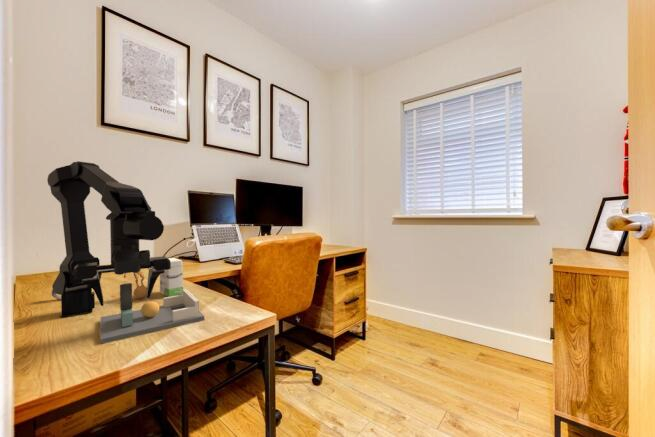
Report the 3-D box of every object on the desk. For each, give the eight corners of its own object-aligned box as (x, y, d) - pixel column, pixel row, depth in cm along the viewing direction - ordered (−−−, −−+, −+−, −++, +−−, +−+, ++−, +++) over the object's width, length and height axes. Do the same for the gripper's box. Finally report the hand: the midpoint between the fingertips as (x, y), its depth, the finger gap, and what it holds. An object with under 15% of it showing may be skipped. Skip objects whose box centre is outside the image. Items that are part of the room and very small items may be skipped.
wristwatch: (49, 301, 88) (49, 285, 88) (56, 298, 90) (55, 283, 90) (72, 300, 89) (72, 284, 89) (78, 297, 92) (78, 282, 91)
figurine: (128, 302, 86) (128, 264, 86) (121, 299, 90) (120, 261, 90) (157, 296, 93) (157, 260, 93) (149, 292, 97) (149, 258, 96)
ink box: (183, 294, 95) (183, 259, 95) (168, 297, 92) (167, 261, 91) (174, 289, 101) (173, 257, 101) (159, 292, 97) (158, 258, 97)
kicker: (121, 327, 65) (120, 288, 65) (119, 317, 71) (119, 282, 71) (134, 324, 67) (133, 287, 66) (131, 314, 73) (130, 280, 73)
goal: (173, 321, 69) (173, 305, 69) (163, 306, 80) (163, 292, 80) (199, 315, 73) (198, 300, 73) (186, 302, 84) (186, 289, 84)
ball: (142, 321, 69) (141, 305, 69) (140, 316, 72) (140, 301, 72) (160, 317, 72) (160, 302, 72) (158, 313, 75) (157, 298, 75)
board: (100, 343, 60) (100, 339, 60) (100, 320, 72) (100, 317, 72) (204, 319, 73) (204, 316, 73) (189, 303, 85) (189, 300, 85)
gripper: (71, 244, 56) (72, 321, 57) (174, 238, 68) (175, 302, 69) (74, 240, 65) (76, 306, 65) (166, 235, 77) (167, 292, 77)
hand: (126, 301), depth 69 cm, fingers open, 9 cm apart
